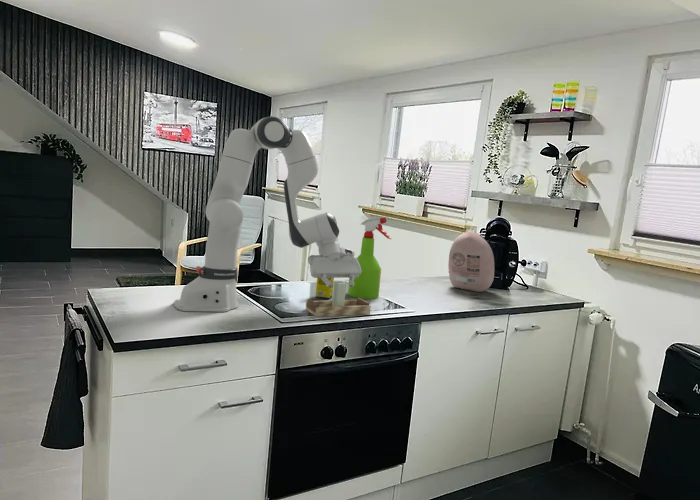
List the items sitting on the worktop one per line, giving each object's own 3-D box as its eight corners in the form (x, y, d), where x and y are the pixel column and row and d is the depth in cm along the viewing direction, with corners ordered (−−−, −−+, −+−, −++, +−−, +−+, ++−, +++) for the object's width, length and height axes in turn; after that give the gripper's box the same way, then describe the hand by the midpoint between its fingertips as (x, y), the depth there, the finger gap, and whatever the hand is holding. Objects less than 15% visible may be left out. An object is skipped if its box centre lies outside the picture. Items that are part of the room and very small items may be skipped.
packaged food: (495, 291, 266) (502, 233, 262) (483, 296, 249) (491, 234, 245) (454, 284, 277) (461, 228, 273) (440, 288, 260) (447, 229, 257)
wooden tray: (316, 316, 185) (317, 305, 185) (305, 309, 194) (306, 298, 193) (369, 314, 196) (370, 303, 195) (357, 307, 204) (358, 297, 204)
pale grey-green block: (336, 310, 192) (338, 283, 191) (331, 307, 196) (334, 281, 194) (343, 309, 194) (346, 283, 192) (339, 307, 197) (341, 281, 196)
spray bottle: (377, 302, 216) (385, 218, 212) (341, 294, 226) (348, 214, 222) (393, 298, 228) (401, 218, 223) (358, 290, 238) (365, 214, 233)
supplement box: (329, 299, 214) (331, 273, 212) (315, 297, 215) (317, 271, 213) (332, 297, 219) (334, 271, 218) (318, 295, 221) (320, 269, 219)
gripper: (309, 250, 193) (318, 281, 186) (357, 251, 203) (367, 281, 195) (304, 260, 198) (312, 290, 190) (351, 260, 207) (360, 290, 200)
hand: (340, 285), depth 193 cm, fingers open, 8 cm apart
